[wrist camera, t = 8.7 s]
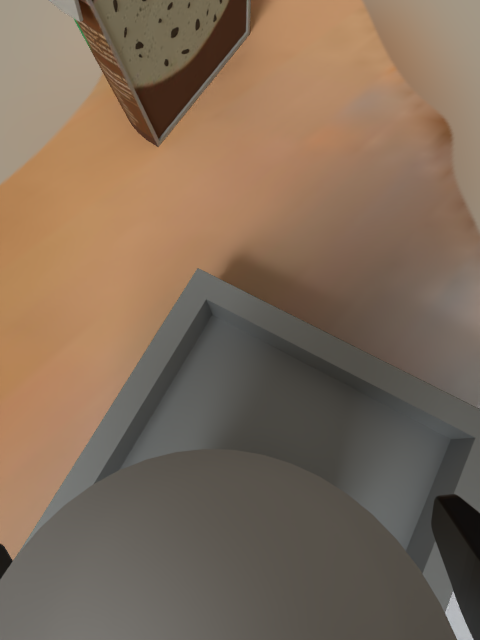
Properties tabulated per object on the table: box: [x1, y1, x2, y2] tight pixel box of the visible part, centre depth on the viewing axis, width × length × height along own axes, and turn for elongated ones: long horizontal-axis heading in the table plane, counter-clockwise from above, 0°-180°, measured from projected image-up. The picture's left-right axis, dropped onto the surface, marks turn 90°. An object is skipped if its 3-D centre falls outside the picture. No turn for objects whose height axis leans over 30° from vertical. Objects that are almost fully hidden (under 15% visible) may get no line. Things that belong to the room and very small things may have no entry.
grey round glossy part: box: [0, 449, 457, 640], centre depth 10 cm, size 6×6×12 cm
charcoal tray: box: [20, 268, 480, 613], centre depth 15 cm, size 16×13×3 cm
